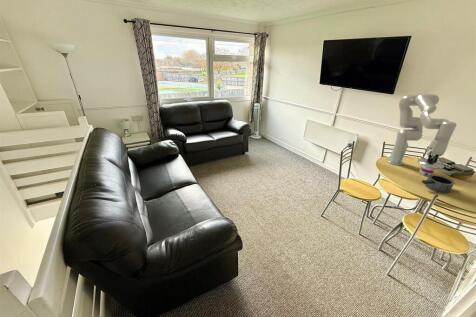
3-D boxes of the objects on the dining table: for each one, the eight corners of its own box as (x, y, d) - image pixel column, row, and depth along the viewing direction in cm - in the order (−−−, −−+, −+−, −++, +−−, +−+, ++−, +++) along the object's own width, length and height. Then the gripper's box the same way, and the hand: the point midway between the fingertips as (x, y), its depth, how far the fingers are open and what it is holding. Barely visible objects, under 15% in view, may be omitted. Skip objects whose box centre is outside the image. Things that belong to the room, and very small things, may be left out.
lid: (412, 159, 159) (415, 152, 156) (430, 159, 160) (433, 151, 157) (430, 169, 145) (434, 161, 142) (449, 168, 146) (453, 160, 144)
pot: (412, 183, 158) (415, 175, 155) (438, 181, 161) (442, 174, 158) (429, 194, 146) (433, 186, 143) (457, 192, 148) (462, 184, 145)
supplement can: (433, 177, 167) (442, 160, 160) (422, 175, 169) (430, 159, 162) (427, 172, 174) (435, 156, 168) (416, 171, 176) (424, 155, 169)
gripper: (447, 137, 148) (436, 159, 156) (426, 137, 147) (416, 160, 155) (458, 140, 141) (446, 164, 149) (436, 141, 140) (425, 165, 148)
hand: (431, 162), depth 152 cm, fingers closed on lid, 3 cm apart
